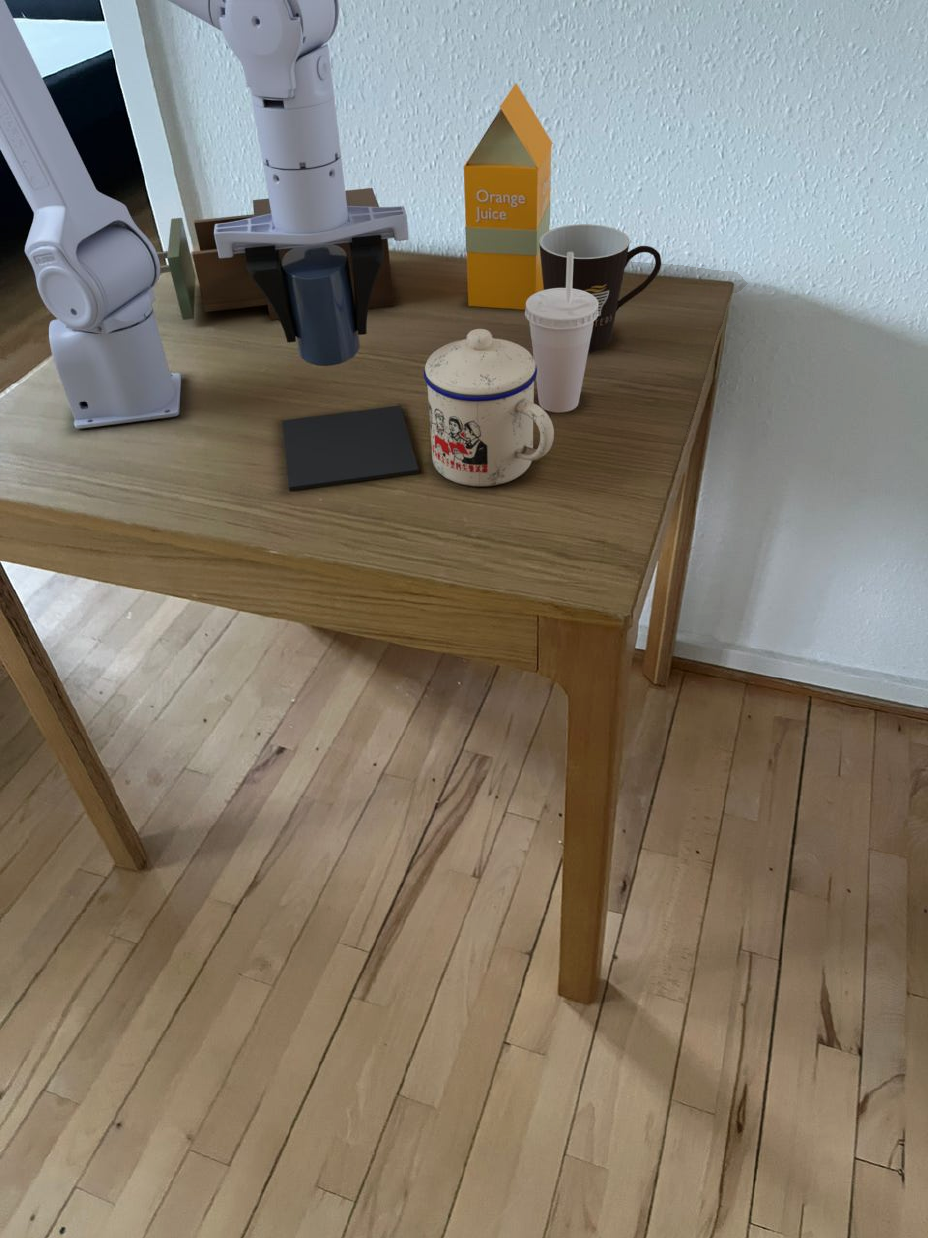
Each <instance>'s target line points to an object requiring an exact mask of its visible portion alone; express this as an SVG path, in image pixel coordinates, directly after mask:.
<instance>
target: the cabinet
mask: <svg viewBox="0 0 928 1238" xmlns="http://www.w3.org/2000/svg"><path fill="white" fill-rule="evenodd" d="M345 193H346V201H347V206H362V207H380V205H379V202H378V200H377V199H378V198H377V196H376V193H375V191H374V188H373V187H368V188H356V189H348V190H346V189H345ZM252 207H253V214H254V217H257V216H262V215H266V214H270V213H271V208H270V202H269V197H268V198H261V199H258V198H257V199H252ZM333 245H336V246H338V247H340V248H342V249H343V250H344V251H345V252H346V254H347V256H348V263H349V270H350V277H351V284H352V291H353V298H354V281H353V273H352V265H351V257H350V249H349V242H348V243H338V244H333ZM382 247H383V252H384V257H383V261H382V265H381V268H380V270H379V272H378V275H377V277H376V280H375V283H374V286H373V290H372V293H371V297H370V302H369V307H368V310H371V309H379V308H387V307H394V293H393V283H392V272H391V261H390V260H391V259H390V251H389V249H390V248H389V240H388V239H382ZM292 249H294V248H287V249H280V254H281V261H282V258H283V257H284V256H285V254H286V253H288V252H289V251H290V250H292ZM266 299H267V297H266ZM354 305H355V303H354ZM266 306H267V309H268V314H269V315H268V316H269V320H270V321H276V320H279V318H278V316H277V314H276V312H275V311H274V309H273V307H272V305H271V303H270V302H269V300H268V299H267V305H266Z"/></svg>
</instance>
